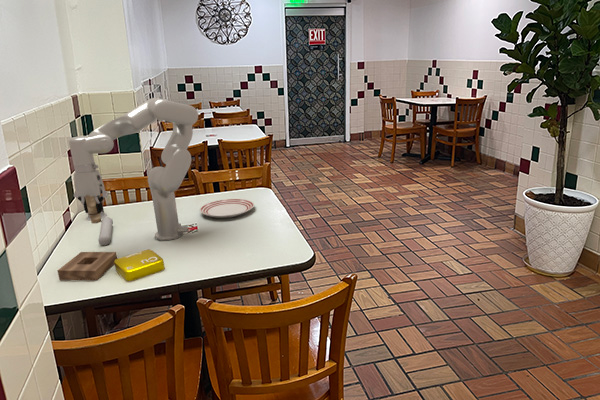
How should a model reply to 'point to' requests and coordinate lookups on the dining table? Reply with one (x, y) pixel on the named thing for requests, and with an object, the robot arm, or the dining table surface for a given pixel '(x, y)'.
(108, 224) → the tube
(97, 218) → the peg
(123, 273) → the element tile
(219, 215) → the dinner plate
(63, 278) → the board
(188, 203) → the dining table surface
